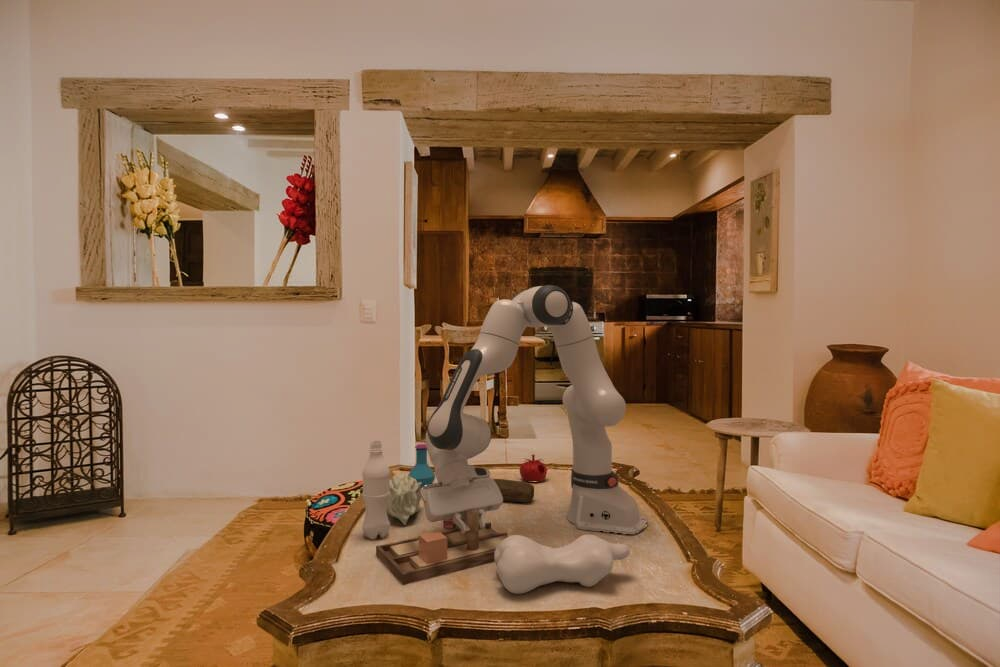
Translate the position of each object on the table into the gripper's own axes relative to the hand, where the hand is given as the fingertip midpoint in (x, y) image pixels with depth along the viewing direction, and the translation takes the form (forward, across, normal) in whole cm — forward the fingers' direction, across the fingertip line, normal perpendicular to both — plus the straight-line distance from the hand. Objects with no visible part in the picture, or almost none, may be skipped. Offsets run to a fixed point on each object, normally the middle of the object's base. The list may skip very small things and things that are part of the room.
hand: (474, 530), depth 133 cm
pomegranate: (-29, +50, +39) cm, 70 cm away
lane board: (+1, -4, +8) cm, 9 cm away
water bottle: (-13, -16, +23) cm, 31 cm away
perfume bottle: (-37, +12, +47) cm, 60 cm away
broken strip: (-2, -4, +12) cm, 12 cm away
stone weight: (-18, +31, +28) cm, 46 cm away
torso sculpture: (+19, +12, -9) cm, 24 cm away
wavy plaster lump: (-21, -4, +31) cm, 37 cm away
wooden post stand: (+4, -2, +5) cm, 6 cm away
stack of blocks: (-14, +11, +25) cm, 31 cm away
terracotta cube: (+3, -10, +4) cm, 11 cm away
